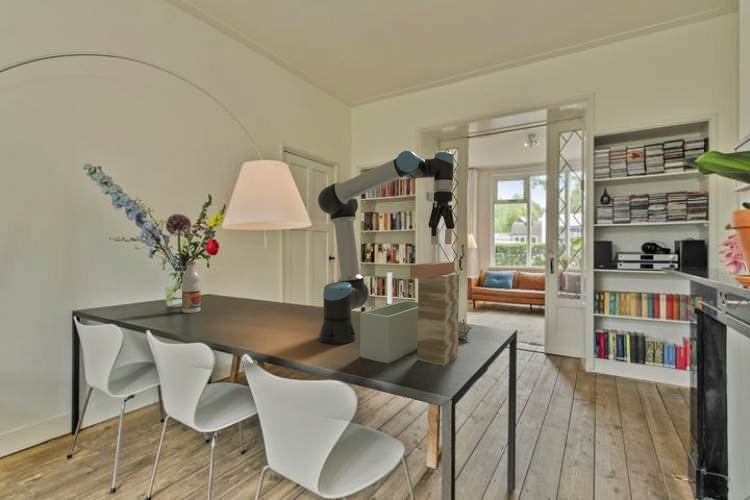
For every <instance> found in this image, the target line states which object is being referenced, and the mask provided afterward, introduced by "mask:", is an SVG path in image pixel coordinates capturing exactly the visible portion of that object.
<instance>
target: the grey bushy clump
mask: <svg viewBox="0 0 750 500" xmlns="http://www.w3.org/2000/svg"><path fill="white" fill-rule="evenodd" d="M471 329H473V327H471V326H469V325H468V324H467V323H466V322H465V319H464V318H463V319H462V320H458V339H466V340H468V334H469V332H470V330H471Z"/></svg>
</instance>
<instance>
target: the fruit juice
mask: <svg viewBox="0 0 750 500" xmlns="http://www.w3.org/2000/svg"><path fill="white" fill-rule="evenodd" d="M185 265H186V269H185V272H184V274H183V275H182V276H181V280H182V286H181V312H182V313H184V314H192V313H193V314H195V313H199V312H200V311H201V309H202V307H201V306H202V305H201V297H202V296H201V284H200V281H201V276H200V274H199V273H198V271H197V269H196V265H197V263H196V262H194V261H193V262H191V261H189V262H187V261H186V263H185Z"/></svg>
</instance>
